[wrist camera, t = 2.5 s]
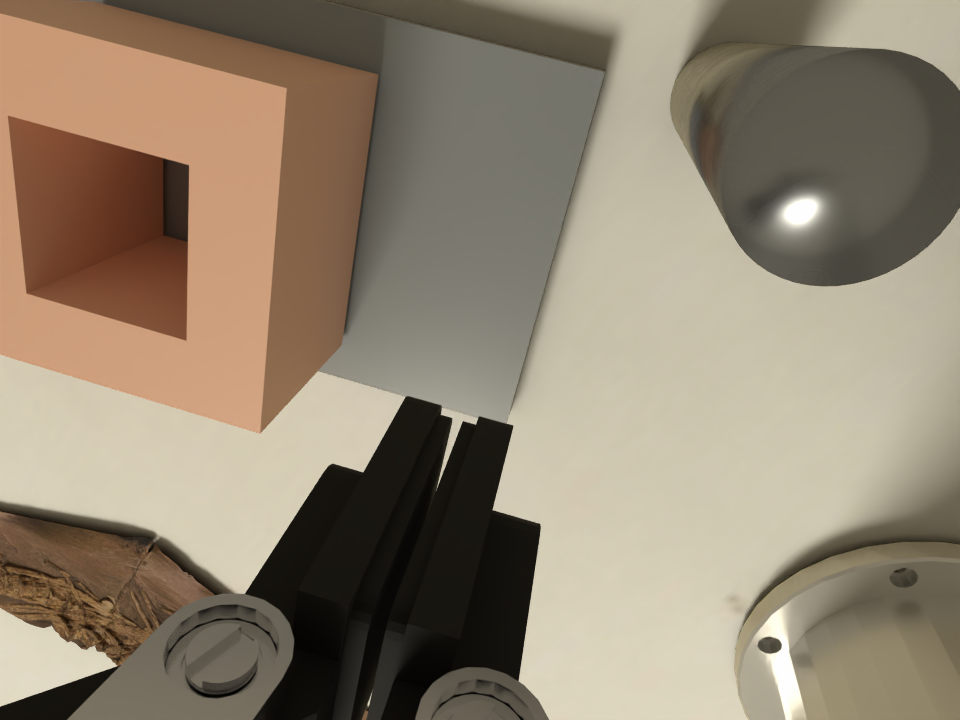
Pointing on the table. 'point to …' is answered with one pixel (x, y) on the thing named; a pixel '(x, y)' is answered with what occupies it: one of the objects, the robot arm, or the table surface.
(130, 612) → the wooden fragment
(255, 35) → the track
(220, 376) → the block
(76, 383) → the table surface
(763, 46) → the dowel
